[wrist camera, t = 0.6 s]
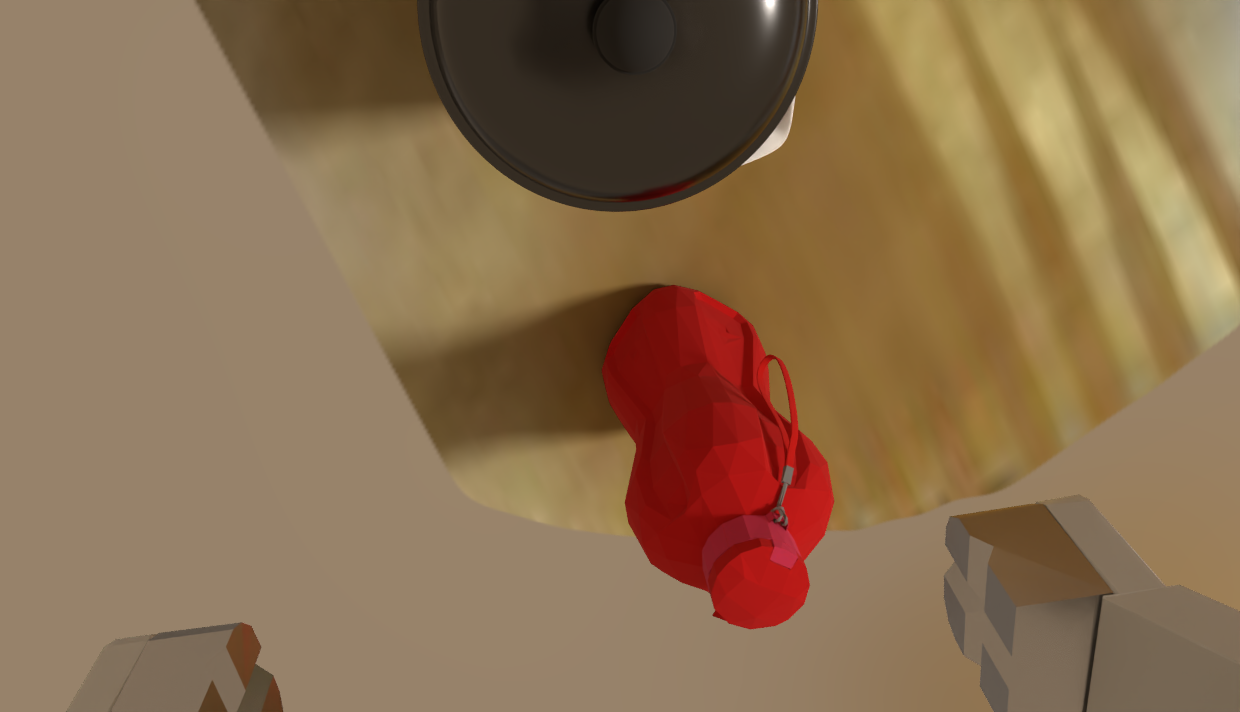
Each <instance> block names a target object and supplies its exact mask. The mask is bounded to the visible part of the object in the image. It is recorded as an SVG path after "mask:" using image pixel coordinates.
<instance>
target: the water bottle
mask: <svg viewBox="0 0 1240 712" xmlns="http://www.w3.org/2000/svg"><path fill="white" fill-rule="evenodd" d="M772 359H776V360H777V361H778V363H779V365H780V367H781V370H782V373H783V376H784V380H785V383H786V389H787V394H788V400H789V408H790V415H791V423H790V422H789V421H788V420H786V419H785V418H784V417H783V416H782V415H781V414H779V413H778V412H777V411H776V410H775V409H774V407H773V406H772V404H771V402H770V391H769V371H768V363H769V362H770V361H771V360H772ZM602 374H603V379H604V383H605V388H606V392H607V395H608V399H609V403H610V405H611V407H612V408H613V410H614V412H615V413H616V415H617V417H618V418H619V420H620V422H621V423H622V424H623V426H624V427H625V429H626V430H627V432H628V433H629V435H630V436H631V438H632V439H633V440H634V442H635V443H636V453H635V458H634V462H633V467H632V472H631V476H630V481H629V486H628V490H627V495H626V499H625V506H626V512H627V517H628V523H629V525H630V527H631V528H632V530H633V532H634V534H635V536H636V537H637V539H638V541H639V543H640V545H641V546H642V548H643V550H644V552H645V554H646V555H647V557H648V559H649V561H650V563H651V564H652V565H654V566H655V567H657V568H658V569H660V570H661V571H663V572H664V573H666V574H668V575H670V576H671V577H673V578H675V579H676V580H678V581H680V582H682V583H685V584H688V585H690V586H694V587H696V588H699V589H702V590H705V591H707V592H709V593H710V594H711V598H712V602H713V606H714V609H715V612H714V613H713V616H714V617H717V618H720V619H723V620H725V621H727V622H728V623H729V624H733V625H736V626H740V627H744V628H748V629H756V628H764V627H771V626H776V625H778V624H780V623H782V622H784V621H786V620H788V619H789V618H790V617H791V616H792V615H793V614H794V613H795V612H796V611H797V610H798V609H800V608H801V607H802V606H803V605H804V602H805V599H806V596H807V593H808V589H809V586H810V584H809V579H808V573H807V568H806V566H805V563H804V560H805V559H806V558H807V556H808V555H809V554H810V553H811V551H812V550H813V549H814V548H815V546H816V545H817V544H818V543H819V541H820V540H821V539H822V538H823V536H824V535H825V531H826V528H827V525H828V521H829V518H830V515H831V511H832V508H833V504H834V497H833V492H832V486H831V480H830V475H829V469H828V464H827V461H826V460H825V459H824V457H823V456H822V455H821V453H820V452H819V450H818V449H817V448H816V446H815V445H814V444H813V442H812V441H811V440H810V439H809V438H807V437H806V436H805V435H804V434H803V433H802V432H800V431H799V430H798V420H797V411H796V404H795V399H794V393H793V389H792V384H791V380H790V377H789V374H788V371H787V369H786V366H785V365H784V363H783V362H782V360H780V359H779V358H777V357H776V356H774V355H767V356H766V354H765V351H764V349H763V347H762V344H761V342H760V340H759V337H758V335H757V333H756V331H755V329H754V327H753V325H752V324H751V323H750V322H748V321H747V320H746V319H745V318H744V317H743V316H742V315H740V314H739V313H738V312H736V311H734V310H733V309H731V308H729V307H727V306H726V305H724V304H722V303H720V302H719V301H717V300H715V299H713V298H711V297H709V296H707V295H706V294H704V293H702V292H700V291H698V290H694V289H689V288H685V287H681V286H676V285H671V286H667V287H662V288H658V289H654V290H653V291H651V292H650V293H649V294H648V295H647V296H646V297H645V298H644V299H642V300H641V301H640V302H639V303H638V304H637V305H636V306H635V307H633V308H632V310H631V311H630V313H629V314H628V316H627V318H626V319H625V321H624V322H623V324H622V325H621V327H620V328H619V330H618V332H617V333H616V335H615V336H614V338H613V339H612V341H611V343H610V345H609V348H608V351H607V355H606V358H605V361H604V364H603V368H602Z"/></svg>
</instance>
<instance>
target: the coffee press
mask: <svg viewBox="0 0 1240 712" xmlns="http://www.w3.org/2000/svg"><path fill="white" fill-rule="evenodd" d="M417 8H418V22H419V30H420V37H421V42H422V47H423V52H424V56H425V59H426V63H427V66H428V69H429V72H430V75H431V78H432V81H433V83H434V86H435V88H436V90H437V93H438V95H439V97H440V99H441V101H442V103H443V105H444V106H445V108H446V110H447V112H448V113H449V115H450V117H451V118H452V120H453V121H454V123H455V124H456V126H457V127H458V129H459V130H460V131H461V133H462V134H463V135H464V137H465V138H466V139H467V140H468V142H469V143H470V144H471V145H472V146H473V147H474V148H475V149H476V150H477V152H478V153H479V154H480V155H481V156H482V157H483V158H485V159H486V160H487V161H488V162H489V163H490V164H491V165H492V166H494V167H495V168H496V169H497V170H498V171H500V172H501V173H502V174H504V175H505V176H507V177H508V178H509V179H511V180H512V181H514V182H516V183H517V184H519V185H521V186H522V187H524V188H526V189H528V190H530V191H532V192H534V193H536V194H538V195H540V196H542V197H545V198H547V199H550V200H553V201H555V202H558V203H562V204H565V205H569V206H573V207H577V208H582V209H588V210H596V211H609V212H623V211H637V210H645V209H651V208H656V207H660V206H664V205H668V204H671V203H674V202H677V201H680V200H683V199H686V198H688V197H690V196H693V195H695V194H697V193H699V192H701V191H703V190H705V189H707V188H709V187H711V186H712V185H714V184H716V183H717V182H719V181H721V180H722V179H724V178H725V177H727V176H728V175H729V174H731V173H732V172H733V171H735V170H736V169H737V168H738V167H740V166H741V165H743V164H746V163H749V162H751V161H754V160H756V159H759V158H761V157H763V156H765V155H768V154H770V153H771V152H773V151H775V150H776V149H778V148H779V147H780V146H781V145H782V144H783V143H784V141H785V140H786V138H787V136H788V134H789V131H790V127H791V122H792V116H793V109H794V101H795V95H796V93H797V91H798V89H799V86H800V84H801V82H802V79H803V76H804V74H805V71H806V68H807V65H808V62H809V58H810V55H811V51H812V46H813V42H814V37H815V30H816V23H817V13H818V0H417Z"/></svg>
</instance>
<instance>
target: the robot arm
mask: <svg viewBox="0 0 1240 712" xmlns="http://www.w3.org/2000/svg"><path fill="white" fill-rule="evenodd" d="M945 545H946V547H947V549H948V550H949V552H950V554H951V556H952V557H953V559H954V561H955V562H954V563H953V564H952V566H951V567H950V568H949V569H948V571H947V572H946V573H945V575H944V600H945V605H946V610H947V615H948V621H949V624H950V626H951V629H952V632H953V635H954V637H955V640H956V642H957V644H958V645H959V647H960V649H961V651H962V653H963V655H964V656H965V657H967V658H968V659H970V660H972V661H973V662H975V663H977V664H979V665H980V666H981V677H980V687H981V689H982V691H983V693H984V695H985V696H986V698H987V700H988V702H989V704H990V706H991V708H992V709H993V711H994V712H1240V611H1238V610H1236V609H1234V608H1231V607H1229V606H1227V605H1224V604H1222V603H1220V602H1218V601H1215V600H1213V599H1211V598H1209V597H1206V596H1204V595H1202V594H1200V593H1197V592H1195V591H1193V590H1190V589H1188V588H1186V587H1184V586H1181V585H1175V586H1168V587H1166V586H1165V585H1164V583H1163V582H1162V581H1161V580H1160V579H1159V578H1158V577H1157V576H1156V575H1155V573H1154V572H1153V571H1152V570H1151V569H1150V568H1149V566H1148V565H1147V564H1146V563H1145V562H1144V561H1143V560H1142V559H1141V558H1140V556H1139V555H1138V554H1137V553H1136V552H1135V551H1134V550H1133V548H1131V546H1130V545H1129V544H1128V543H1127V542H1126V541H1125V540H1124V538H1123V537H1122V536H1121V535H1120V534H1119V533H1118V532H1117V530H1116V529H1115V528H1114V527H1113V526H1112V525H1111V524H1110V523H1109V521H1108V520H1107V519H1106V518H1105V517H1104V516H1103V515H1102V514H1101V512H1100V511H1099V510H1098V509H1097V508H1096V507H1095V506H1094V504H1093V503H1092V502H1091V501H1090V500H1089V499H1088V498H1085V497H1083V496H1081V495H1074V496H1068V497H1063V498H1057V499H1051V500H1045V501H1040V502H1036V503H1035V504H1027V505H1021V506H1014V507H1008V508H1002V509H996V510H989V511H982V512H976V513H970V514H963V515H957V516H950V517H949V520H948V523H947V526H946V538H945ZM260 650H261V645H260V643H259V641H258V639H257V637H256V635H255V633H254V630H253V628H252V626H250V625H247V624H244V623H234V624H227V625H218V626H210V627H202V628H194V629H186V630H179V631H171V632H163V633H158V634H156V635H145V636H137V637H129V638H122V639H116V640H114V641H113V642H111V643H109V644H108V645H106V646H105V647H104V648H103V650H102V651H101V653H100V655H99V656H98V658H97V660H96V662H95V663H94V665H93V667H92V668H91V670H90V672H89V673H88V675H87V677H86V679H85V680H84V682H83V684H82V685H81V687H80V689H79V691H78V692H77V694H76V696H75V697H74V699H73V701H72V703H71V704H70V706H69V708H68V709H67V711H66V712H283V707H282V701H281V697H280V691H279V689H278V686H277V683H276V681H275V679H274V676H273V675H272V674H270V673H269V672H267V671H265V670H264V669H263V668H261V667H259V666H258V665H256V664H255V663H256V661H257V658H258V655H259V653H260Z"/></svg>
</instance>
